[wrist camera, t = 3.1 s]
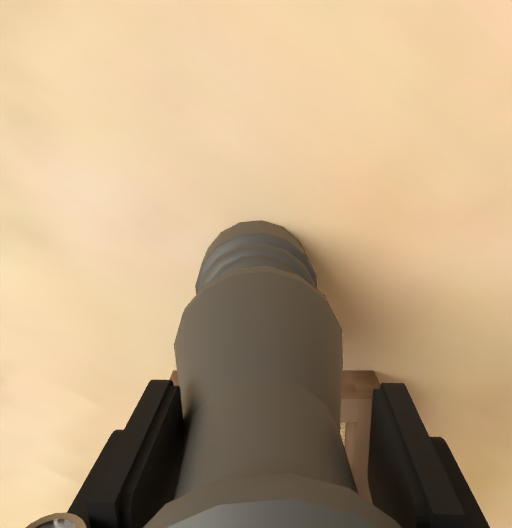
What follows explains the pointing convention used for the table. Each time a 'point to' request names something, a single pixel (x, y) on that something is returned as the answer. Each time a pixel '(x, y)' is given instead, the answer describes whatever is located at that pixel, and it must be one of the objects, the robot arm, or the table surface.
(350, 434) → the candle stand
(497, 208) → the table surface
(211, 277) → the candle holder
